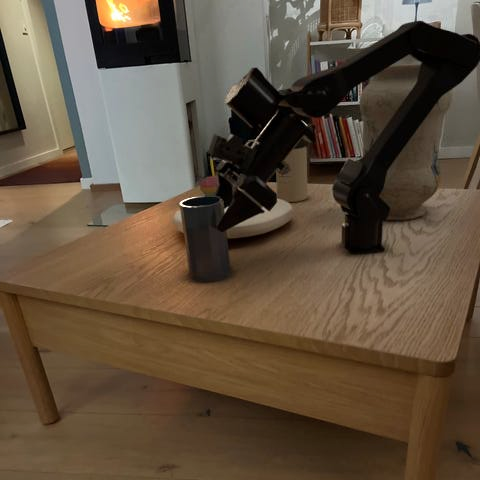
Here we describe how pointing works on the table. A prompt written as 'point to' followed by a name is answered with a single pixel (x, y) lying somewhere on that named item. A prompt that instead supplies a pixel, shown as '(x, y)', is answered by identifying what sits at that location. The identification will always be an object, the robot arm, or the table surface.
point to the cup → (205, 238)
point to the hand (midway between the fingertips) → (213, 223)
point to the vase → (417, 149)
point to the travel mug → (293, 175)
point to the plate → (253, 221)
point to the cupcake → (209, 183)
